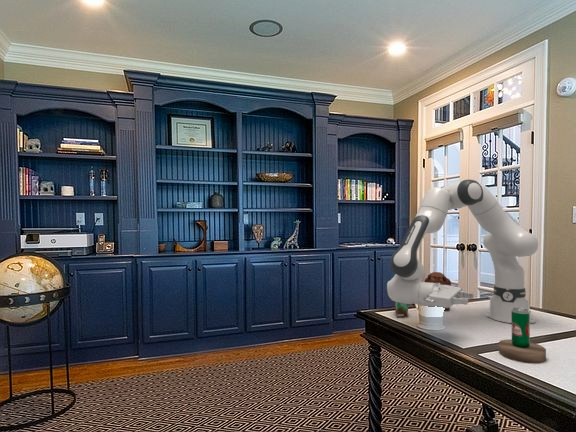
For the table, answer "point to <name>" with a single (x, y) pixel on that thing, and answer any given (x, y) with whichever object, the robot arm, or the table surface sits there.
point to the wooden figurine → (438, 280)
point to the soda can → (520, 327)
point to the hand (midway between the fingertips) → (470, 298)
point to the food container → (401, 310)
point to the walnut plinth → (522, 352)
